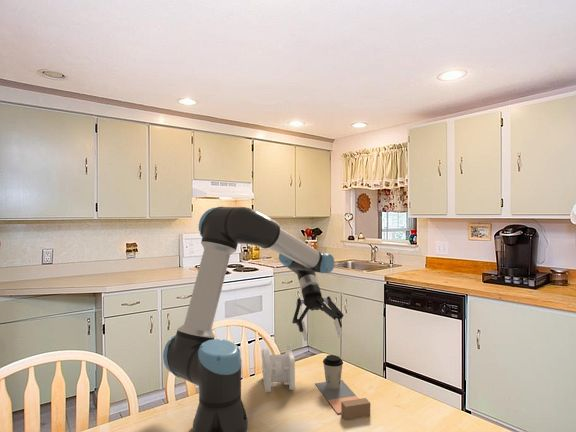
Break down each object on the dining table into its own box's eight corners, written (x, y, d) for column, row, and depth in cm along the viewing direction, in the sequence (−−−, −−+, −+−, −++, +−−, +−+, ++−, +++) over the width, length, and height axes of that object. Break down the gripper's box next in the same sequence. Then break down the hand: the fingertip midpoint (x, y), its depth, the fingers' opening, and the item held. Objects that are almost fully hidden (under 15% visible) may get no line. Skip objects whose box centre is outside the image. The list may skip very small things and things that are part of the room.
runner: (373, 415, 112) (373, 402, 112) (342, 420, 109) (342, 407, 109) (341, 380, 134) (341, 369, 134) (315, 384, 132) (315, 372, 132)
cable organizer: (295, 394, 125) (295, 360, 124) (263, 396, 123) (263, 361, 123) (290, 374, 139) (289, 343, 139) (261, 376, 138) (261, 345, 138)
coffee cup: (347, 389, 127) (347, 360, 127) (328, 393, 125) (328, 363, 124) (336, 380, 134) (336, 352, 134) (319, 384, 131) (319, 355, 131)
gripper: (336, 291, 159) (351, 339, 145) (278, 295, 152) (289, 345, 138) (341, 281, 153) (357, 329, 139) (282, 285, 147) (292, 336, 133)
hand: (323, 337), depth 139 cm, fingers open, 13 cm apart
